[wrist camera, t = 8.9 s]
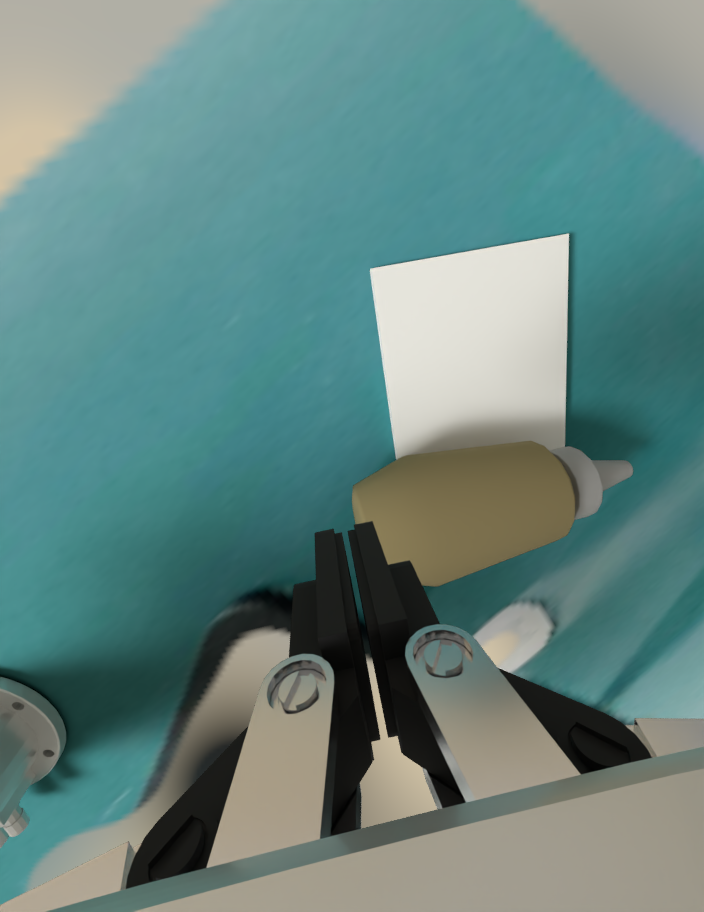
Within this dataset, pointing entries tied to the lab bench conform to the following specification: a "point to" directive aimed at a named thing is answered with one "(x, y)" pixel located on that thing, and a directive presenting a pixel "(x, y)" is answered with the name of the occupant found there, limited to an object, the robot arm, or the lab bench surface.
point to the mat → (476, 346)
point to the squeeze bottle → (480, 504)
